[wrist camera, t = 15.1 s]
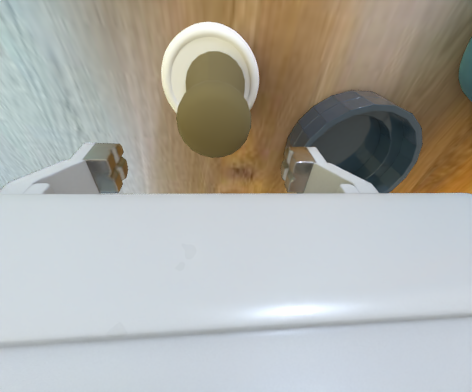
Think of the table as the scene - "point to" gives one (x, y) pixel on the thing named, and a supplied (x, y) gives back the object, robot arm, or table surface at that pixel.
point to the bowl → (362, 137)
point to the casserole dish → (466, 71)
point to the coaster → (202, 41)
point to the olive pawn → (214, 106)
